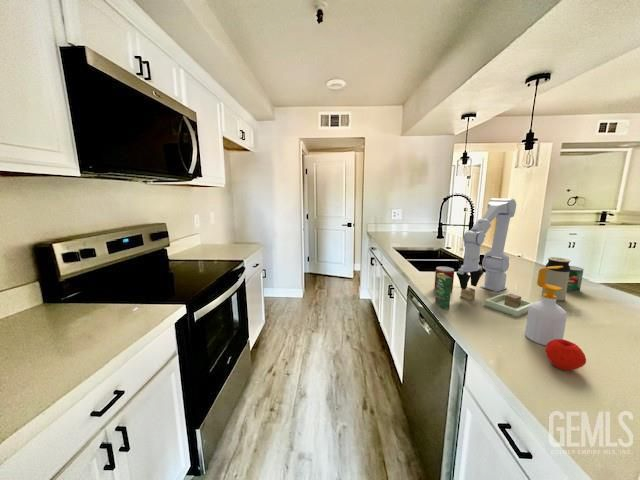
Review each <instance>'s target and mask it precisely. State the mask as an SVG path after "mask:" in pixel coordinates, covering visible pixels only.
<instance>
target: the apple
mask: <svg viewBox="0 0 640 480" xmlns="http://www.w3.org/2000/svg"><path fill="white" fill-rule="evenodd" d="M544 350H545V354H546V357H547V359H548V361H550V363H551V364H552V365H553V366H554V367H556V368H558V369H560V370H562V371H568V372H569V371H575V370H578V369H579V368H582V367H584V366H585V365H586V363H587V358H586V354H585V353H584V352H583V350H582V349H581V347H580V346H579V345H577V344H575V343H574V342H571V341H569V340H566V339H564V338H563V339H555V340H552V341H550V342H548V343H547V345H546V346H545V349H544Z"/></svg>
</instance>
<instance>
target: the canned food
mask: <svg viewBox="0 0 640 480" xmlns="http://www.w3.org/2000/svg"><path fill="white" fill-rule="evenodd" d="M437 273H443V274H445V275H447V276H449V277H450V278H452V282H451V293H452V292H453V289H454V279H455V269H454V268H453V267H449V266H436V268H435V274H434V275H435V276H434V290H435V291H436V281H437Z"/></svg>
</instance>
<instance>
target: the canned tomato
mask: <svg viewBox="0 0 640 480" xmlns="http://www.w3.org/2000/svg"><path fill="white" fill-rule="evenodd" d="M569 266H570V272H569V278H568V284H567V290H566V292H571V293H580V292H581V289H582V288H581V287H582V282H583V281H582V280H583V276H584V268H583V267H579V266H574V265H569Z"/></svg>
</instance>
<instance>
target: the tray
mask: <svg viewBox="0 0 640 480" xmlns="http://www.w3.org/2000/svg"><path fill="white" fill-rule="evenodd" d="M505 295H507V294H506V293H500V294H498V295H495V296H493V297H489V298H487V299H484V305H483V306H485V307H487V308H489V309H492V310H496V311H498V312H501V313H504V314H506V315H509V316H512V317H515V318H518V317H520V316H523V315H525V314H528V309H529V306H530V305H531V304H532V303H533V302H532V301H528V300H525V299H522V298H521V303H520V306H518V307H516V308H514V307H511V306H508V305H505V304H504V303H505Z"/></svg>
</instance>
